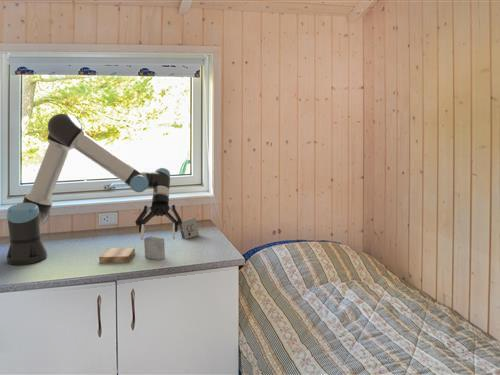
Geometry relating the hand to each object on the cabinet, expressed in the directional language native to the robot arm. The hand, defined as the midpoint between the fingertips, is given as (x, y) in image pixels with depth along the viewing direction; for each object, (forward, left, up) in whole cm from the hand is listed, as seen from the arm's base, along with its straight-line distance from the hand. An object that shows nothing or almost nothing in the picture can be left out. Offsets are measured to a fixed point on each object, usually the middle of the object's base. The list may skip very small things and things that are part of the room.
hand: (157, 238), depth 180 cm
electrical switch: (+11, +30, -8) cm, 32 cm away
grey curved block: (-1, -2, -8) cm, 9 cm away
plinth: (-17, -1, -8) cm, 19 cm away
